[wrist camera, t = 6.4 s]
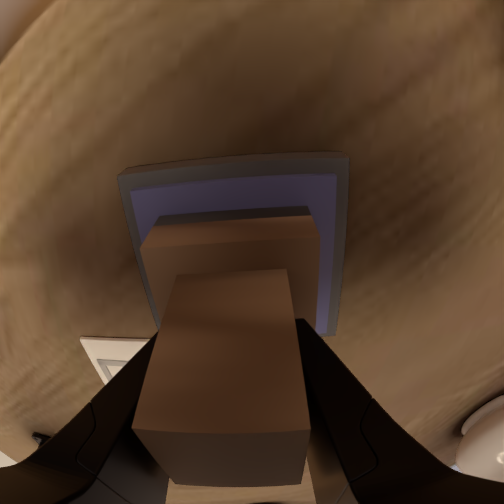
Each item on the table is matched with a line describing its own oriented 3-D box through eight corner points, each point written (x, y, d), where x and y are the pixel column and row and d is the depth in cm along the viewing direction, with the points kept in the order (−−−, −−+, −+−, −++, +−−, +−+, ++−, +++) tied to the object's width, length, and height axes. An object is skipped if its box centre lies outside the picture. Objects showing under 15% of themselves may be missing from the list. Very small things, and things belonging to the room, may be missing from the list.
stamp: (184, 325, 13) (152, 490, 7) (159, 215, 10) (65, 392, 4) (304, 320, 12) (333, 489, 6) (307, 205, 10) (376, 391, 4)
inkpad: (166, 328, 14) (161, 348, 13) (126, 168, 11) (113, 178, 10) (331, 320, 14) (336, 340, 13) (341, 151, 10) (352, 160, 9)
